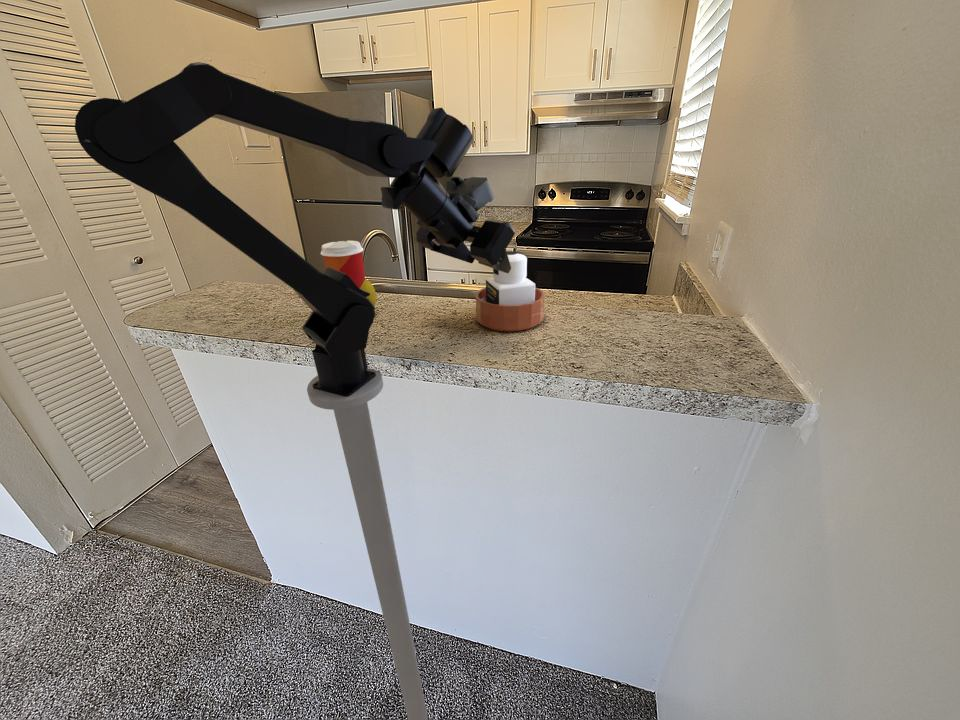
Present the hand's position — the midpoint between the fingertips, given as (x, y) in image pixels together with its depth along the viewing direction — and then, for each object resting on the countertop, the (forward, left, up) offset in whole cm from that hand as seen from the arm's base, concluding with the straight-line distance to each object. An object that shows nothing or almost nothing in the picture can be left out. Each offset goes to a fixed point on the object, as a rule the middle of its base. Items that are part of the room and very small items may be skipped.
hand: (490, 265), depth 69 cm
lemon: (-4, +26, -11) cm, 29 cm away
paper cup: (-5, +28, -4) cm, 28 cm away
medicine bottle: (+4, -2, -11) cm, 12 cm away
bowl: (+4, -2, -11) cm, 12 cm away
